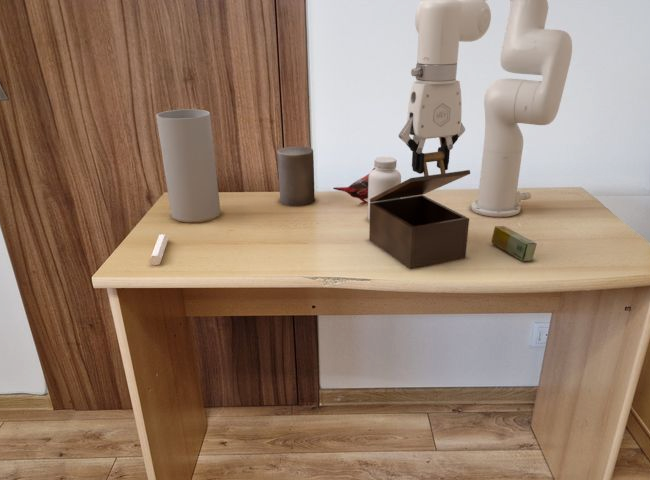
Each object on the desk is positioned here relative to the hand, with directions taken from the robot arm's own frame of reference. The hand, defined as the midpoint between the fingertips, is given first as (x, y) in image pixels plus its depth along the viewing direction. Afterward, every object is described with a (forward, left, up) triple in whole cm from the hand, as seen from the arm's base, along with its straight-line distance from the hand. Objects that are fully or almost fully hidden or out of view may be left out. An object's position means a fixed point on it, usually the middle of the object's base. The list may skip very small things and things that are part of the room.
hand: (430, 169), depth 126 cm
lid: (0, -4, -5) cm, 7 cm away
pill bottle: (-3, -25, -19) cm, 31 cm away
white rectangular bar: (+52, -28, -19) cm, 62 cm away
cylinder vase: (+39, -49, -19) cm, 65 cm away
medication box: (-18, +7, -19) cm, 27 cm away
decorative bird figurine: (-3, -38, -19) cm, 42 cm away
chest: (0, -4, -19) cm, 19 cm away
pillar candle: (+11, -49, -19) cm, 53 cm away
